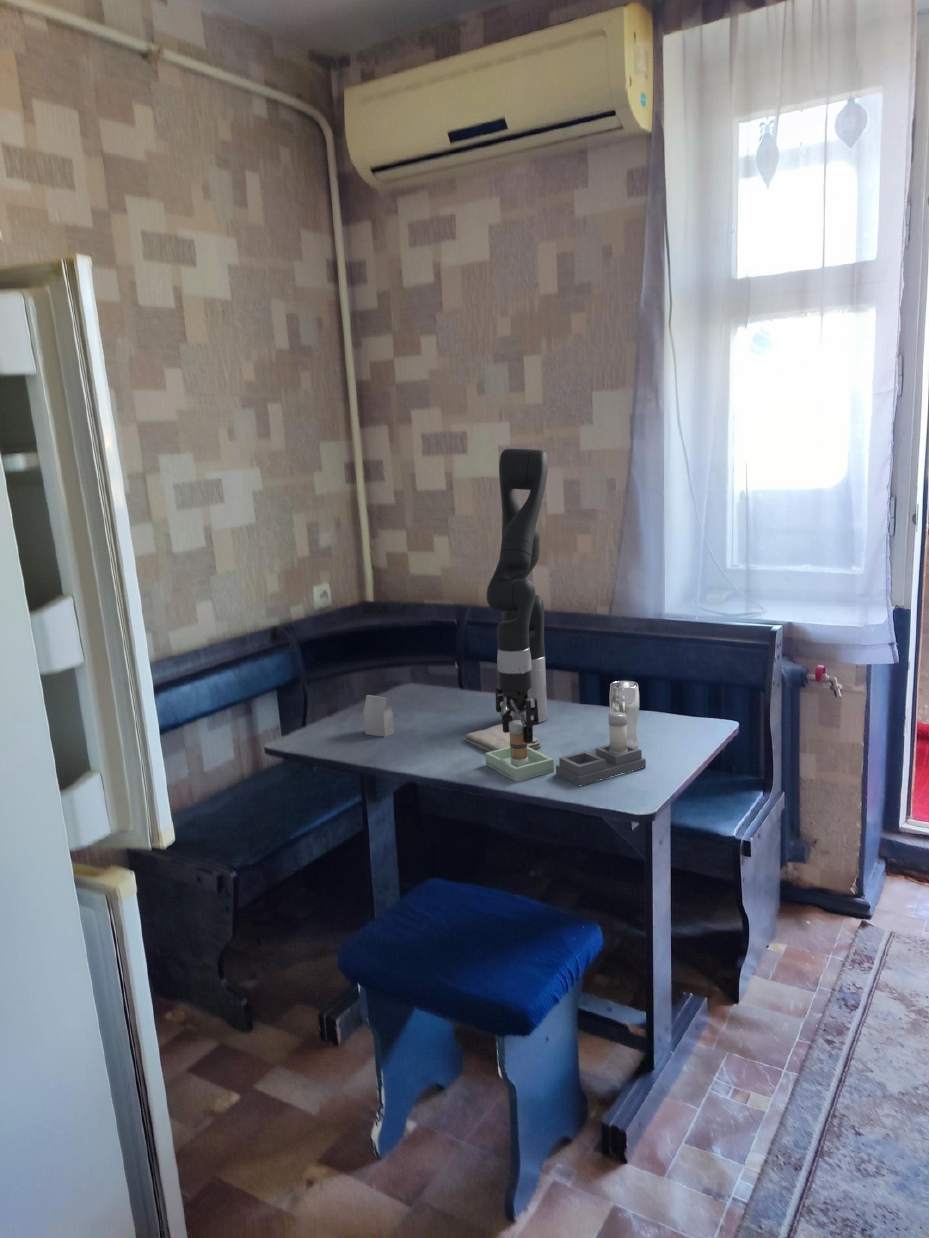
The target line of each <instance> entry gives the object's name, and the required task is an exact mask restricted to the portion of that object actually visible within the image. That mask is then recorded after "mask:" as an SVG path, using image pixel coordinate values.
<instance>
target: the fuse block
mask: <svg viewBox="0 0 929 1238" xmlns="http://www.w3.org/2000/svg"><path fill="white" fill-rule="evenodd" d="M609 749H610V743H609V744H606V745H602V746H599V747H596V748H595V754H594V753H591V752H589V751H588V750H584V751H579V752H576V753H573V754H568V755H564V756H561V757H558V760H559V761H558V763H559V764H557V765H556V764H555V775H557V776H559V777H560V778H563V779H565V780H567V781H569V782H571V783H572V784H574V783H575V784H574V785H577V786H578V785H584V786H587V785H590V784H589V783H591V782H594V783H596V782H595V781H597V780H600V779H605V780H607V779H606V778H608V779H610V778H609V777H611V776H615V775H618V774H621V773H626V774H628V773H627V772H629V771H632V770H636V769H639V768H642V767H646V768H647V761H646V758H644V757H643V755H642V754H643V753H642V749H640V748H638V747H633V746H631V745H628V744H627V751H628V752H625V753H621V754H617V755H616V754H614V753H611V752H609ZM636 771H637V770H636ZM629 773H630V772H629ZM615 777H616V776H615ZM586 784H587V785H586ZM591 784H592V783H591Z"/></svg>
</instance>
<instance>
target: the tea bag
mask: <svg viewBox="0 0 929 1238" xmlns="http://www.w3.org/2000/svg"><path fill="white" fill-rule="evenodd" d="M362 711H363V712H362V713H363V723H364V734H365V735H370V736H375V737H381V736H384V737H383V738H387V737H389V736H391V735H393V734H395V728H394V727H395V726H394V713H393V708H392V706H391V705H390V702H389V698H388V697H384V696H378V695H372V694H371V695H370V694H367V695H365V703H364V707H363V710H362ZM386 736H387V737H386Z"/></svg>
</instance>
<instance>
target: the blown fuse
mask: <svg viewBox="0 0 929 1238" xmlns="http://www.w3.org/2000/svg"><path fill="white" fill-rule="evenodd" d="M522 727H523V725H522V723H521V720H514V721H513V720H512V721H511V722H509V733H510V751H511V756H510V760H511V765H513V766H515V767H520V766H524V765H528V755H527V743H525V742H523V732H522Z"/></svg>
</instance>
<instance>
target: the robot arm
mask: <svg viewBox="0 0 929 1238" xmlns="http://www.w3.org/2000/svg"><path fill="white" fill-rule="evenodd" d="M498 462H499V464H498V474H499V477H498V478H499V488H500V501H501V502H500V503H501V514H502V515H501V517H502V518H501V520H502V521H501V544H500V551H499V558H498V563H497V565H496V568H495V570H494V573H493V575H492V577H491V579H490V581H489V584H488V585H487V590H486V600H487V604H488V606H489V607H490V608H491V609H492V610H494V611H498V612H501V620H502V621H501V622H499V623H498V624H497V626H496V628H497V629H496V636H497V637H496V639H497V642H496V643H497V655H496V656H497V658H496V661H497V662H496V663H497V678H498V682H497V683H498V686H496V687H495V711H496V712H497V713H499V715H500V717H501V720H502V721H501V722H502V723H501V724H503V732H505V733H508V732H509V722H511V721H514V720H521V723H522V725H523V727H522V732H523V742H525V743H529V742H532V741H533V737H534V731H533V730H534V728H533V727H534V726H536V725H539V724H540V723H544V722H545V721H547V719H548V700H547V699H548V698H547V678H546V677H547V675H546V673H547V672H546V653H545V605H544V600H543V598H542V597H541V596H540V594H536V587H535V586H534V583H533V582H532V581H531V580H530V579H528V578H527V577H529V575H530V574H531V572H532V571H533V569H534V568H535V567H536V565H537V563H538V561H539V558H540V544H541V543H540V542H541V541H540V539H541V538H540V533H539V529H538V527H537V523H538V519H539V516H540V512H541V511H540V510H541V508H542V503H543V499H544V495H545V490H546V485H547V479H548V472H549V468H548V467H549V460H548V455H547V453H546V452H545V451H544V450H542V449H533V448H531V449H530V448H529V449H527V448H505V449H504V450H503V451H501V454H500V456H499V461H498ZM516 490H525V491H526V490H527V491H529V494H528V497H527V498H526V501H525V502H524V504H523V505H522V504H521V501H520V500H519V497H518V494H517V491H516Z"/></svg>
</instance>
